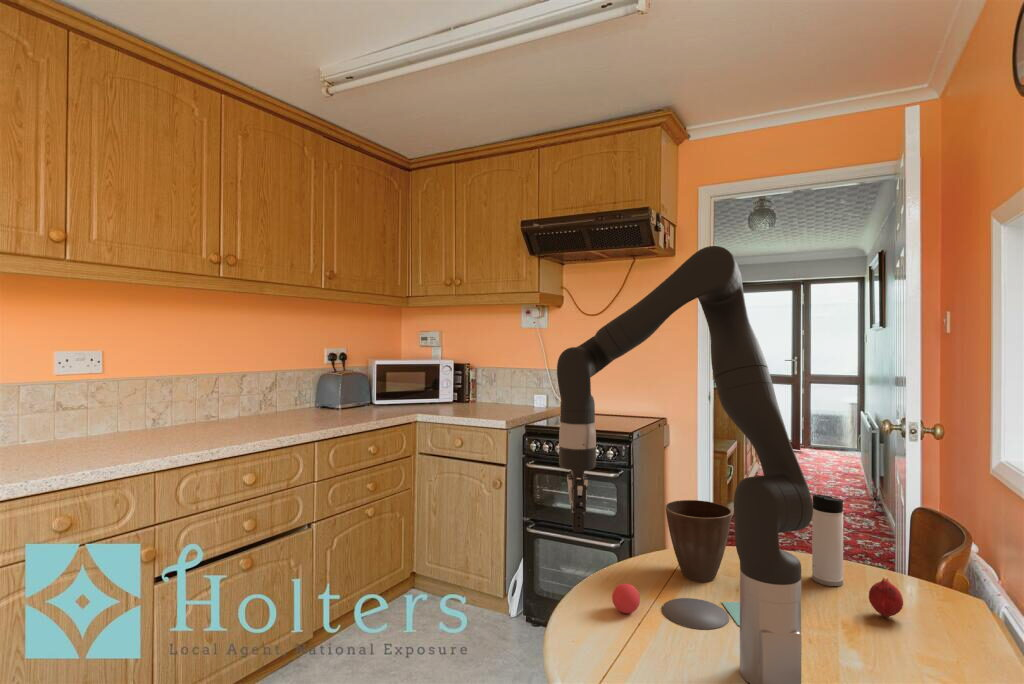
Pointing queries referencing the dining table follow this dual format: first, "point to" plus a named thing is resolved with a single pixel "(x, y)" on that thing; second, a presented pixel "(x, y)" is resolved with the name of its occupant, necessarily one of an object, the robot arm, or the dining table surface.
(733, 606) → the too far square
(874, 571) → the dining table surface
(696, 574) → the plant pot
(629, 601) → the ball
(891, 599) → the onion
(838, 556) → the travel mug
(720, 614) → the disc
